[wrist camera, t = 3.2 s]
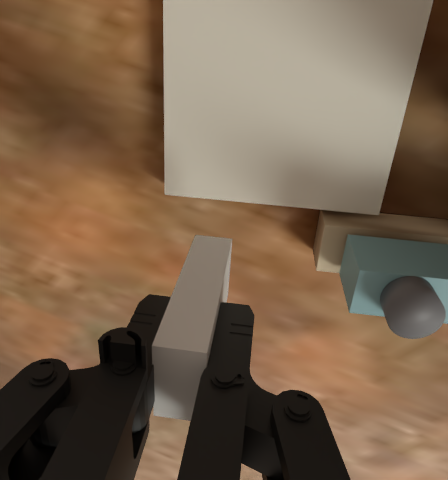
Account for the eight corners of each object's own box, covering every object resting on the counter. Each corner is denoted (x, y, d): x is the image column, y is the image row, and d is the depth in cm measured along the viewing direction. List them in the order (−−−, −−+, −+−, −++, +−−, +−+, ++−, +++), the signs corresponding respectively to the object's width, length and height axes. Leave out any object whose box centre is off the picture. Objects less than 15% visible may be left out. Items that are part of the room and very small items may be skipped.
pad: (169, 187, 21) (164, 194, 20) (168, -58, 16) (162, -62, 15) (374, 206, 20) (378, 215, 19) (435, -43, 16) (445, -46, 15)
